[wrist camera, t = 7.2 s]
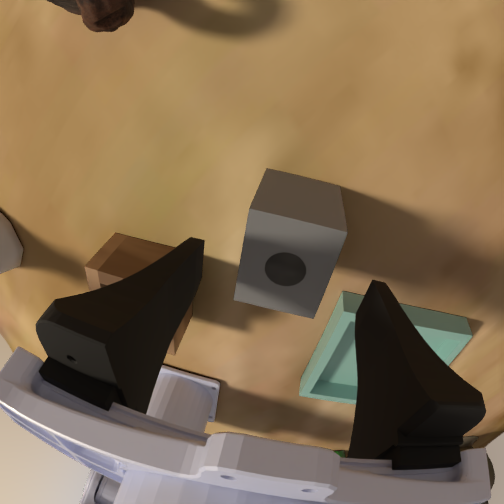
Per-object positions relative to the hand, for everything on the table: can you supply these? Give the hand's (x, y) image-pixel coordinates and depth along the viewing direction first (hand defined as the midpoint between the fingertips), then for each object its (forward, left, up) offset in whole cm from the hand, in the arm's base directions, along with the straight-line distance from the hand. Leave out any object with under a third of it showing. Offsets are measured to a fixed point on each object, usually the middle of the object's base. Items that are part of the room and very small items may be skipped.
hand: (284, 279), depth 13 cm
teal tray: (-10, -9, -6) cm, 15 cm away
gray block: (0, 0, -6) cm, 6 cm away
